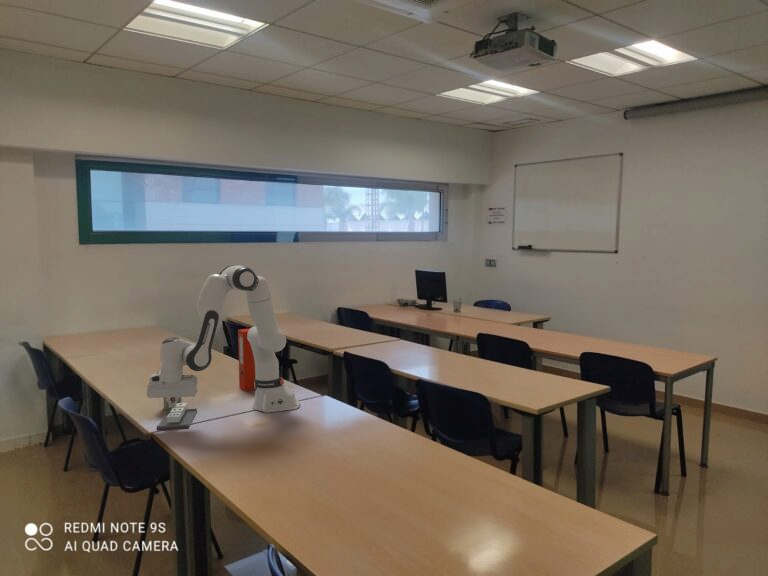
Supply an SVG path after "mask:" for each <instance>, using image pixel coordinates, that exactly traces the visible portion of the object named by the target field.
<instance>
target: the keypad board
mask: <svg viewBox="0 0 768 576" xmlns="http://www.w3.org/2000/svg"><path fill="white" fill-rule="evenodd" d="M166 411H167V412H166V413H165V415H164V416H163V417H162V419H161V421H160V422H159V423H158V425H156V431H165V430H166V431H167V430H177V429H178V430H181V429H190V427H191V425H192V423H193V421H194V419H195V416H196V415H197V412H198V408H197V407H196V408H187V409H186V411H184V412H185V413H184V414H183V416H181V420H180V421H179V422H169V423H167V416H168V414H169V413H170V411H171V410H166Z"/></svg>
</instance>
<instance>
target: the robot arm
mask: <svg viewBox="0 0 768 576" xmlns="http://www.w3.org/2000/svg"><path fill="white" fill-rule="evenodd" d="M231 290H237V291H238V290H240V291H243V292H245V294H246V295H245V296H246V301H247V305H248V306H247V307H248V311H249V312H248V313H249V317H250V319H251V320H252V322H253V324H254V326H251V328H249V329H250V330H249V331H248V334H247V338H248V341H249V343H250V345H251V348H252V352H253V356H254V360H255V376H256V378H255V381H254V385H255V389H254V401H253V405H252V408H253V409H254V410H255V411H260V412H263V413H275V412H282V411H291V410H298V409H299V408H300V406H301V402H300V400H299V399H298V398H296V394H295V392H294V390H292V389H291V388H290V387H288V386H287V385H285V380H284V378H283V377H281V376H280V375H279V374H280V370H279V368H280V366H279V365H280V363H279V359H278V358H277V356H276V353H277V352H280V351H282V350H283V349H284V348H285V347H286V344H287V337H286V335H285V333H284V332H283V331H282V329H281V327H280V325H279V323H278V320H277V317H276V314H275V311H274V307H273V300H272V296H271V291H270V287H269V285H268V281H267V279H266V278H265V277H264V276H261V275H257V274H256V273H255V271H254V270H253V269H252V268H250V267H247V266H244V265H228V266H226V267H224V268H223V269H222V270H221V272H219V273H213V274H210V275H209V276H207V278H206V280H205V281H204V284H203V286H202V288H201V290H200V293H199V295H198V299H197V303H196V311H197V313H198V316H199V319H200V329H199V333H198V337H197V339H196V343H195V342H189V341H186V340H184V339H182V338H180V337H178V336H174V337H169V338H166V339H164V340H163V341H162V343H161V345H160V362H161V367H160V371H158V372H154V373H152V374H151V375H150V376H149V380H148V381H149V382H148V384H147V388H146V397H147V398H149V399H158V398H159V399H160V398H162V399H163V398H164V397H166V401H167V402H168V403H169V407H176V406H177V401H178V399H179V397H181V398H185V397H186V398H187V397H195V396H196V395H197V394H198V388H197V387H198V385H197V384H198V378H197V376H195V375H194V374H184V372H183V371H184V370H183V369H184V368H183V367H184V366H187V367H188V368H189V369H190V370H192V371H193V372H202V371H204V370H206V369H207V368H208V367H209V366H210V365H211V362H212V359H213V358H212V357H213V356H212V346H213V343H214V338H215V336H216V331H217V328H218V324H219V320H220V316H221V313H222V310H223V307H224V304H225V302H226V298H227V295H228V294H229V292H230V291H231ZM170 397H175V399H176V401H175V402H171V401H170Z"/></svg>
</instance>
